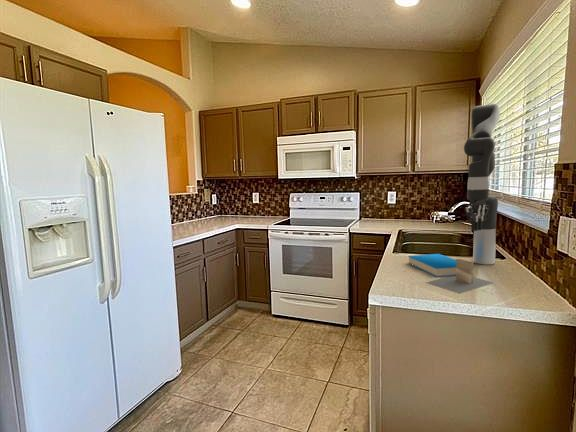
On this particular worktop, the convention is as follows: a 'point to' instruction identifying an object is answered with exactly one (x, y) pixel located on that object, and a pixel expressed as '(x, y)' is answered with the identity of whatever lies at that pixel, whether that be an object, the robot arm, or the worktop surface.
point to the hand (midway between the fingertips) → (476, 230)
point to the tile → (464, 270)
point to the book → (434, 264)
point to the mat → (458, 284)
